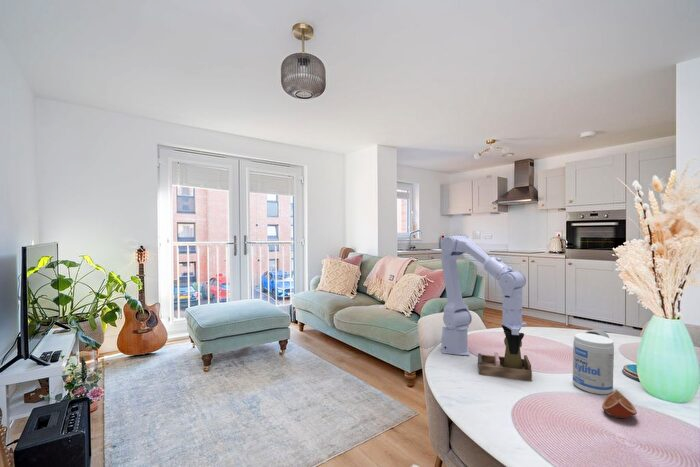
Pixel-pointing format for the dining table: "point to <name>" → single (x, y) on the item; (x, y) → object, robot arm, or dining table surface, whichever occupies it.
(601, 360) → the supplement tub
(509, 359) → the olive bulbous piece
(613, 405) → the brown wedge piece
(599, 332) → the ceramic mug
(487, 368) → the open box
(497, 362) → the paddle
